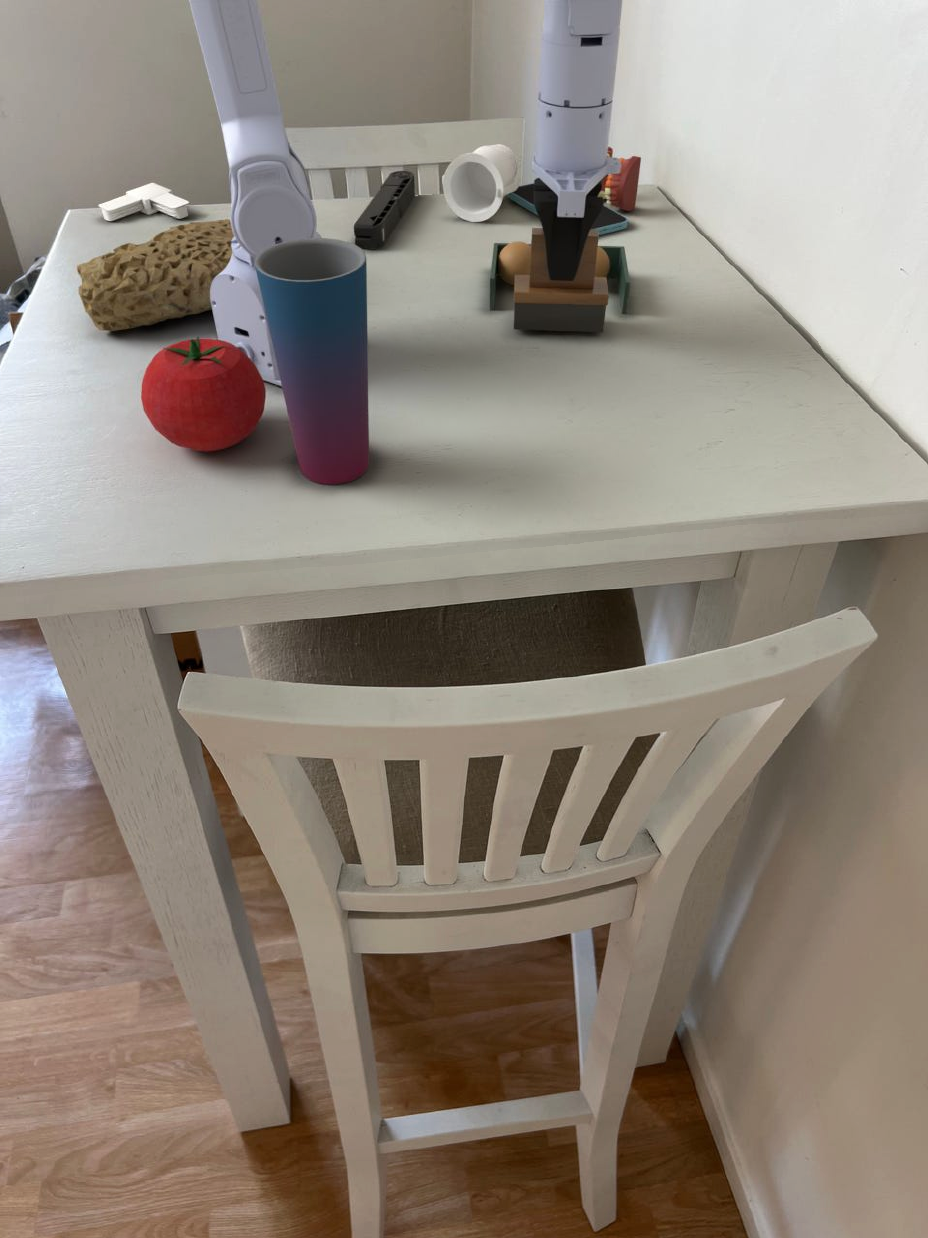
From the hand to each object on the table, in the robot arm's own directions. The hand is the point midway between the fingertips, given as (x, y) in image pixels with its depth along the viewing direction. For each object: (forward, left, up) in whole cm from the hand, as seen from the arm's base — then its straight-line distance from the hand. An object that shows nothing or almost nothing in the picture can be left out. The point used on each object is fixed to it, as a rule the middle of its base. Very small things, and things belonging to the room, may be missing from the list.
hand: (561, 273), depth 78 cm
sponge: (-13, +31, -5) cm, 35 cm away
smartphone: (+23, +6, -5) cm, 24 cm away
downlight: (+18, +20, -1) cm, 27 cm away
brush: (0, 0, -4) cm, 4 cm away
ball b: (+6, +8, -3) cm, 11 cm away
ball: (+10, +2, -3) cm, 10 cm away
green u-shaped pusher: (+8, +4, -5) cm, 10 cm away
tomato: (-30, +13, -5) cm, 34 cm away
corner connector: (0, +53, -3) cm, 53 cm away
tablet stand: (+13, +30, -4) cm, 33 cm away
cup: (-28, +3, -5) cm, 29 cm away
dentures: (+33, +14, -2) cm, 36 cm away
